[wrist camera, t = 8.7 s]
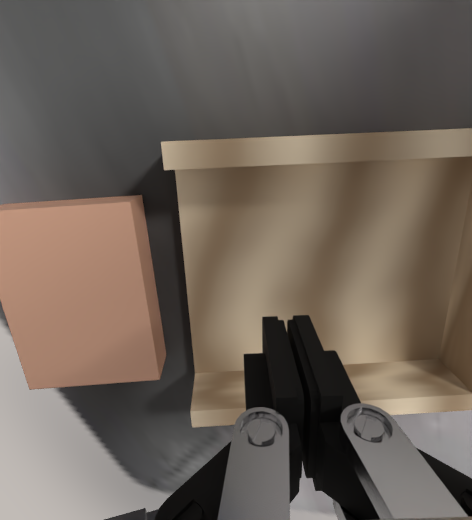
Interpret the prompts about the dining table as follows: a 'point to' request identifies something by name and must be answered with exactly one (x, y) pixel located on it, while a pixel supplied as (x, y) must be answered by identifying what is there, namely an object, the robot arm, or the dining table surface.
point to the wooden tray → (331, 260)
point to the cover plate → (81, 291)
